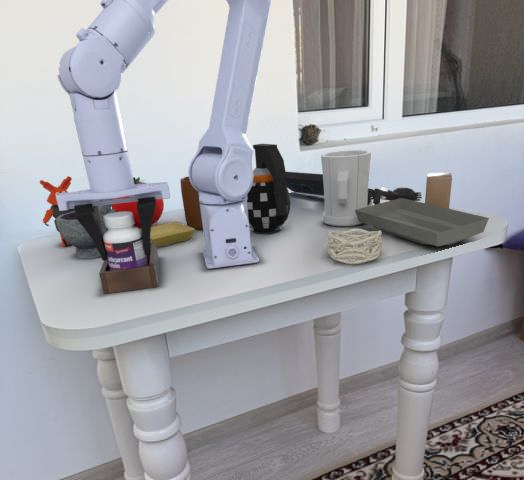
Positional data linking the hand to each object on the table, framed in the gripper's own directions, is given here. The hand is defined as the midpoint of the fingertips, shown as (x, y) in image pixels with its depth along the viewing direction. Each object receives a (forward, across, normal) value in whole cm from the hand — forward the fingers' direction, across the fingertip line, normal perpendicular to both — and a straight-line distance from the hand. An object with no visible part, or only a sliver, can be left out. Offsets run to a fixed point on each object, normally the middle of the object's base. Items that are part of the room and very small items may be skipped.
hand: (127, 255), depth 69 cm
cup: (+4, -39, -18) cm, 43 cm away
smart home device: (+1, -35, -55) cm, 65 cm away
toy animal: (+4, +13, -28) cm, 31 cm away
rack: (+4, 0, -3) cm, 5 cm away
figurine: (+3, -53, -27) cm, 59 cm away
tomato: (+4, 0, -35) cm, 36 cm away
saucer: (+4, -5, -22) cm, 23 cm away
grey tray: (0, -46, -5) cm, 46 cm away
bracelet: (+2, -37, +3) cm, 37 cm away
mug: (+4, -15, -31) cm, 35 cm away
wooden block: (+4, -53, -11) cm, 54 cm away
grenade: (+4, -24, -19) cm, 31 cm away
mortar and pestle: (+4, +7, -19) cm, 21 cm away
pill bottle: (+4, 0, 0) cm, 4 cm away
